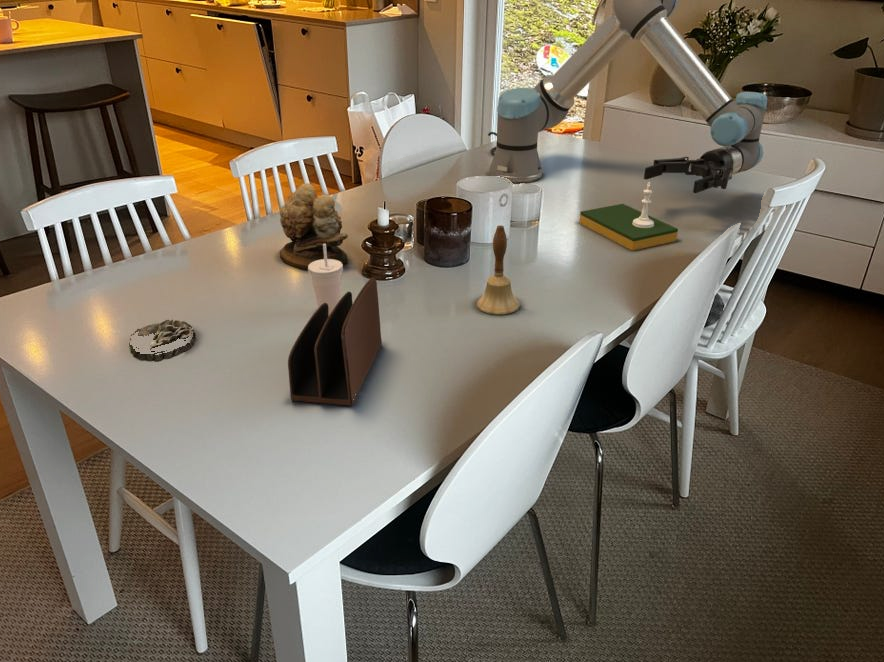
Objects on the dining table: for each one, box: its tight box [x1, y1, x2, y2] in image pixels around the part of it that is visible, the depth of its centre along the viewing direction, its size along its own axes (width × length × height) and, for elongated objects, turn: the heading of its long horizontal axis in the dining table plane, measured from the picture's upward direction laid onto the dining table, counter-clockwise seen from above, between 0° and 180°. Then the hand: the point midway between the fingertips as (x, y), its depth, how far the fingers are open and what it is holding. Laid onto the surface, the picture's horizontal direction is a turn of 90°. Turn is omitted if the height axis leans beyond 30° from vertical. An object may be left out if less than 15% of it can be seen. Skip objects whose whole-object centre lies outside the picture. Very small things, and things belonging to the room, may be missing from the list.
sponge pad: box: [579, 203, 679, 251], centre depth 178 cm, size 20×13×3 cm, turn 27°
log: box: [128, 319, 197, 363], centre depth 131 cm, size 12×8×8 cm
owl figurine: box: [278, 182, 349, 271], centre depth 159 cm, size 18×12×17 cm, turn 57°
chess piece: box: [632, 181, 654, 228], centre depth 171 cm, size 5×5×10 cm
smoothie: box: [307, 244, 344, 316], centre depth 138 cm, size 6×6×14 cm
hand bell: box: [476, 224, 521, 316], centre depth 140 cm, size 8×8×16 cm
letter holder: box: [287, 276, 383, 407], centre depth 119 cm, size 10×20×14 cm, turn 171°
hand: (669, 180), depth 175 cm, fingers open, 13 cm apart
